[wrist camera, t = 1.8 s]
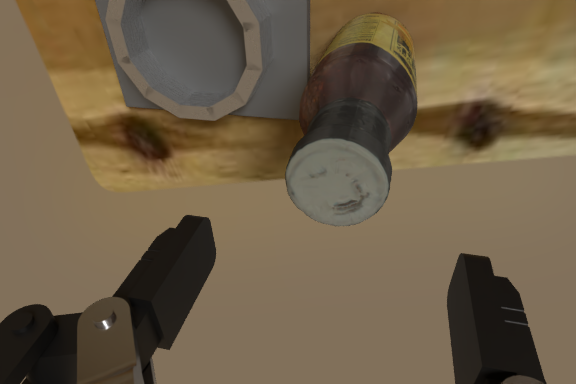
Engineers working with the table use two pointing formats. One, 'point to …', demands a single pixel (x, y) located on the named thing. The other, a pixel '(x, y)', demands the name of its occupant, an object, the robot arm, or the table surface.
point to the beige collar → (170, 92)
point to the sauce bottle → (353, 121)
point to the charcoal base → (223, 52)
